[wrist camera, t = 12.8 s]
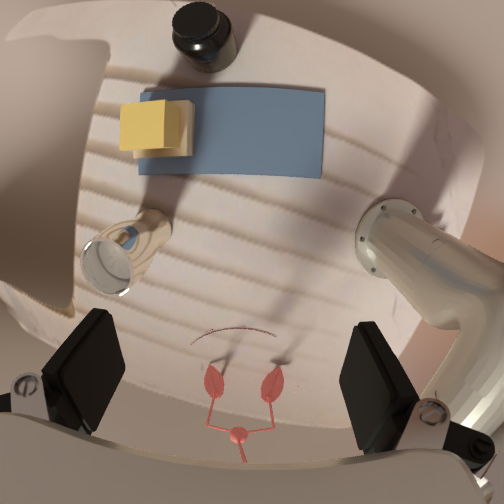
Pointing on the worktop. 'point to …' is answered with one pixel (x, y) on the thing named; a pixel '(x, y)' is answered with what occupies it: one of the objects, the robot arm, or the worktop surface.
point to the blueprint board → (247, 132)
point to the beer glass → (124, 252)
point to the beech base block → (184, 135)
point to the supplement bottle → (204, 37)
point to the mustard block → (149, 125)
